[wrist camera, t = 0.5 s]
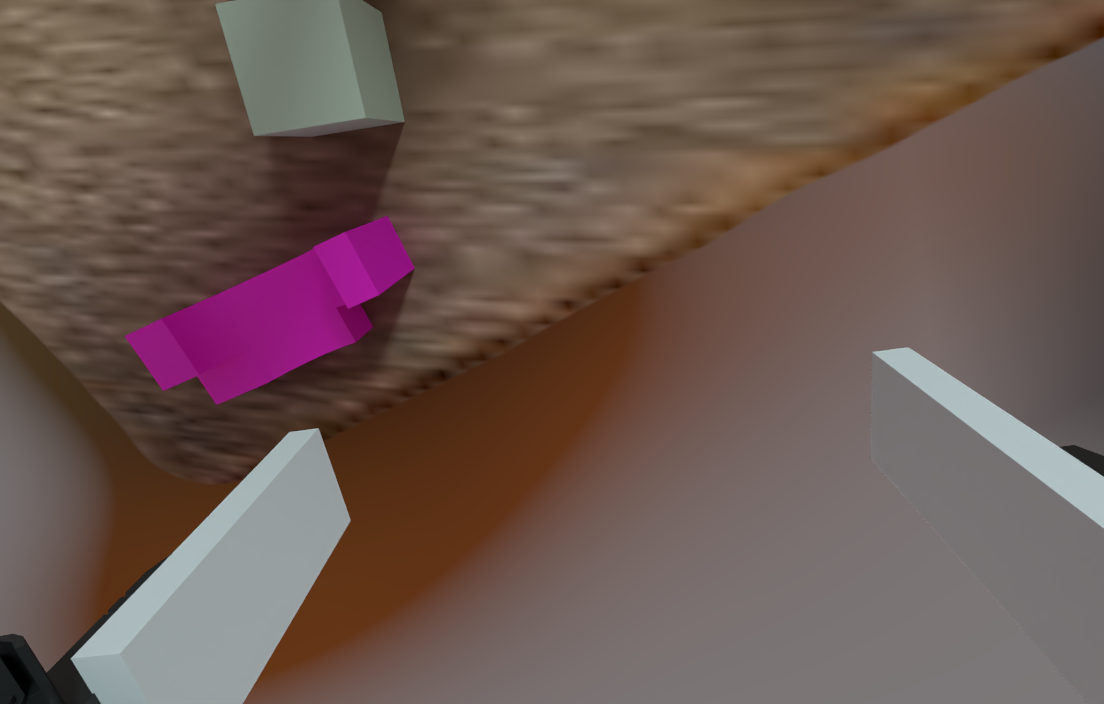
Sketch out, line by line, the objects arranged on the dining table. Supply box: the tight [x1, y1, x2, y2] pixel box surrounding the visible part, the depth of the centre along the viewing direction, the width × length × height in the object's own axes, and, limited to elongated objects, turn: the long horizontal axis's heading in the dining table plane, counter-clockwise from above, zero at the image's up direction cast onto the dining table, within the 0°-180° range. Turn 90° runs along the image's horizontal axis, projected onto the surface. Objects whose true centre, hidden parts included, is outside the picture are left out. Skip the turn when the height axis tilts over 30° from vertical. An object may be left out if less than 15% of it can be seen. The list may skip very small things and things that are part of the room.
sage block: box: [215, 0, 405, 137], centre depth 32 cm, size 6×6×7 cm
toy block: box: [125, 216, 414, 405], centre depth 37 cm, size 15×6×8 cm, turn 114°
